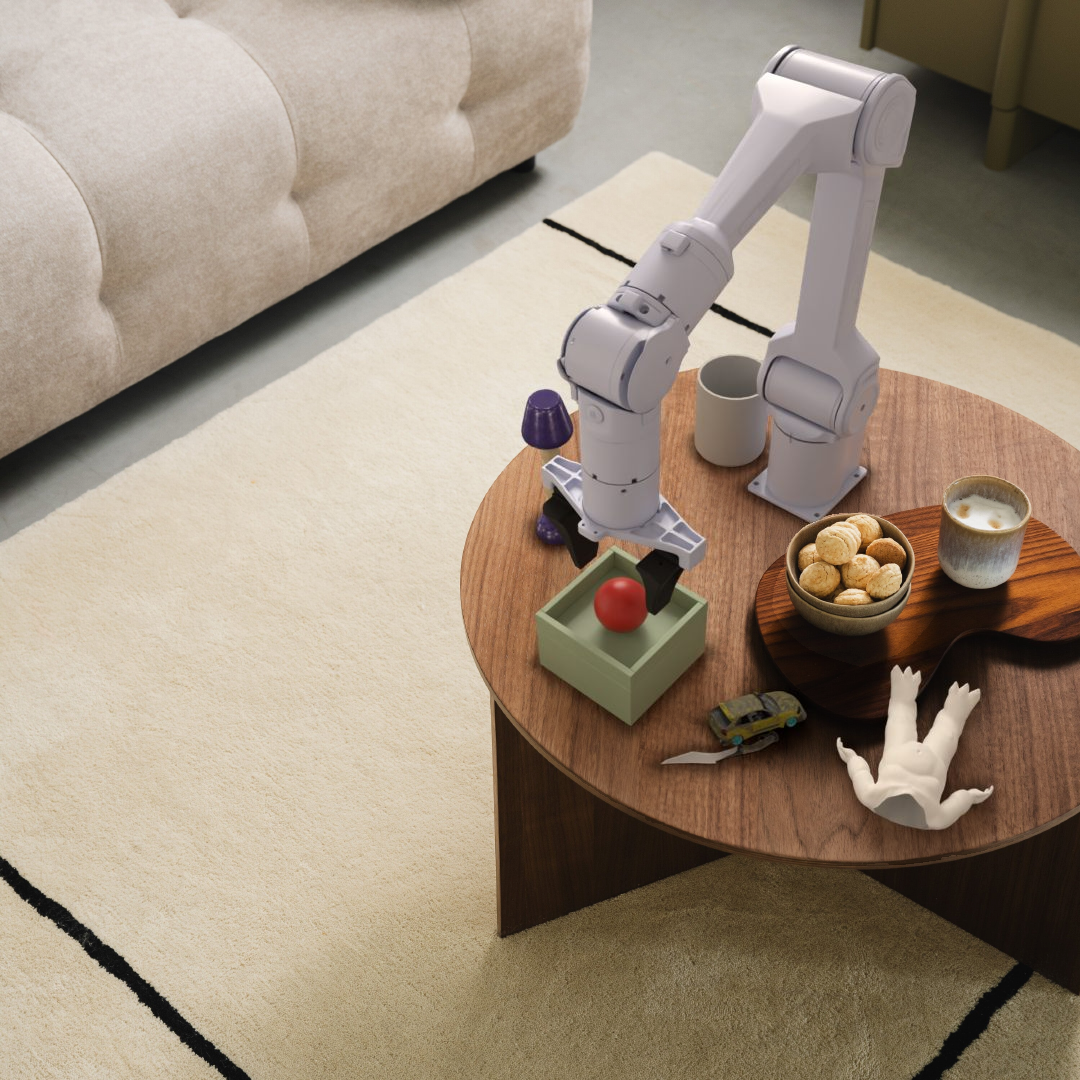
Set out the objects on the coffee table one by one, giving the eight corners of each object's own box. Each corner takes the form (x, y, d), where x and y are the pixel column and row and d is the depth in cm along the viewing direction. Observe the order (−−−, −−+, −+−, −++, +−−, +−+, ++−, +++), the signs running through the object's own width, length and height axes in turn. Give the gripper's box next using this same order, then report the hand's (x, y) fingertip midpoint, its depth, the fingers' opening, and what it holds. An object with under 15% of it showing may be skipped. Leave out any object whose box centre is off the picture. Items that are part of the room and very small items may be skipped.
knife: (773, 728, 94) (773, 725, 94) (782, 744, 93) (782, 741, 93) (659, 762, 93) (658, 760, 92) (666, 779, 91) (666, 777, 91)
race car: (812, 721, 93) (812, 698, 92) (722, 751, 92) (721, 727, 91) (790, 694, 96) (790, 671, 95) (702, 722, 95) (701, 699, 94)
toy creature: (1017, 695, 90) (1002, 800, 80) (996, 750, 93) (979, 857, 84) (863, 650, 93) (832, 746, 84) (849, 705, 97) (817, 803, 88)
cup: (699, 471, 116) (703, 402, 109) (685, 408, 123) (688, 339, 116) (770, 466, 116) (778, 396, 109) (753, 403, 123) (760, 334, 116)
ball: (618, 593, 99) (617, 557, 96) (660, 619, 97) (661, 583, 93) (583, 625, 97) (581, 589, 93) (625, 653, 94) (625, 617, 91)
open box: (614, 595, 105) (613, 544, 100) (704, 651, 100) (708, 600, 95) (539, 664, 100) (534, 613, 95) (630, 726, 95) (630, 677, 90)
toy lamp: (571, 552, 109) (564, 418, 97) (524, 544, 110) (511, 410, 98) (584, 517, 112) (578, 383, 100) (538, 510, 113) (527, 376, 101)
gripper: (509, 445, 84) (522, 569, 94) (665, 535, 77) (661, 659, 87) (572, 397, 88) (578, 521, 98) (727, 479, 81) (717, 604, 90)
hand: (621, 583), depth 93 cm, fingers open, 7 cm apart
